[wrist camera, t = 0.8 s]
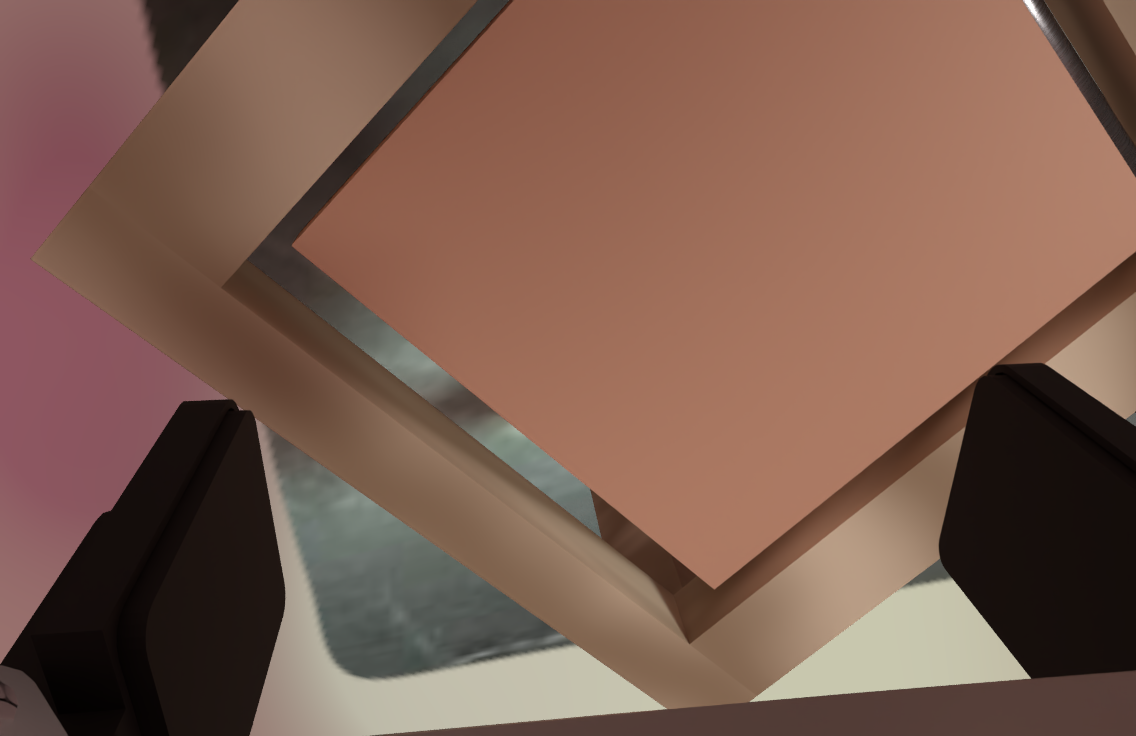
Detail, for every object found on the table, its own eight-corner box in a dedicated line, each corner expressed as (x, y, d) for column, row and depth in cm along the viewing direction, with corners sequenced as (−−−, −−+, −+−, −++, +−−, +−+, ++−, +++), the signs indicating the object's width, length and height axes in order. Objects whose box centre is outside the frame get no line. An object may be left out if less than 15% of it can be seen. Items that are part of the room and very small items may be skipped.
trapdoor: (813, -336, 15) (835, -354, 14) (1154, 200, 20) (1186, 211, 20) (300, 231, 19) (291, 245, 18) (705, 566, 24) (714, 589, 23)
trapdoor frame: (624, -328, 31) (871, -784, 12) (934, 97, 39) (1379, 228, 20) (259, 105, 36) (24, 265, 17) (599, 402, 44) (699, 739, 25)
